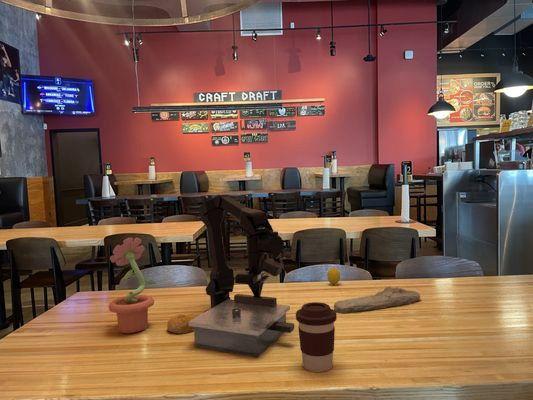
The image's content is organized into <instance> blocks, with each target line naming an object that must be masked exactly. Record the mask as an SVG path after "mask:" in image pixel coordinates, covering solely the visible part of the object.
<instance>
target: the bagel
mask: <svg viewBox="0 0 533 400" xmlns="http://www.w3.org/2000/svg"><path fill="white" fill-rule="evenodd" d="M196 317H197V316H195V315H193V314H177V315H175V316H172V317H170V318H169V319H168V320H167V325H166V329H167V330H168V331H169V332H171V333H174V334H181V335H182V334H186V333H187V334H188V333H191V332H194V326H189V321H190V320H192V319H194V318H196Z"/></svg>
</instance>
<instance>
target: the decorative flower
mask: <svg viewBox="0 0 533 400" xmlns="http://www.w3.org/2000/svg"><path fill="white" fill-rule="evenodd" d="M141 244H142V239H141V238H139V237H135V238H133V237H128V238H126V239H124V240H123V244H121V245H120V244H117V245H116V246H115V247H114V249H113V250H112V254H113V255H111V256H110V257H109V260H110V262H111V263H115V264H116V266H118V267H119V266H120V267H121V266H122V267H123V266H125V265H129V264H130V266H131V268H132V269H130V270H129V271H127V272H126V273H125V275H124V277H123V280H124V281H125V280H127V279H129V278H130V277H131V276H132V275H133V272H134V273H135V276H136V278H137V280H138V283H139V285H138V287H137V288H136V289H134V290H132V291H130V292H129V293H128V294H127V295H126V296H122V297H119V298H116V299H114V300H112V301H111V302H110V303H109V304H108V310H109V311H110V312H112V313H114V314H116V318H117V326H118V330H119V332H120V333H122V334H123V333H124V334H133V333H137V332H141V331H143V330H145V329H147V328H148V319H149V317H148V316H149V315H148V314H149V313H148V312H149V309H150V307H152V306H154V304H155V299H154V298H153V296H152V295H148V294H141V293H142V292H144V290H145V288H146V284H147V285H157V282H156V281H155V280H153V279H145V278H144V275H143V273H142V271H141V270H140V269H139V266H138V264H137V262H136V261H137V260H139V259H140V258H141V257H142V254H143V253H144V251H145V249H146V248H145V246H144V245H141Z"/></svg>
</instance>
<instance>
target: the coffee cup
mask: <svg viewBox="0 0 533 400" xmlns="http://www.w3.org/2000/svg"><path fill="white" fill-rule="evenodd" d="M295 320H296V321H297V322H298V327H297V329H298V336H299V349H300V351H301V358H302V359H301V360H302V365H303V368H305V369H306V370H307V371H309V372H312V373H324V372H327V371H329V370H330V369H332V367H333V362H334V361H333V359H334V350H335V330H336V327H335V322H336V321H337V320H338V319H337V312H335V311H334V308H331V307H330V305H329V304H327V303H324V302H317V301H315V302H314V301H313V302H308V303H304V304H303V305H302V306H301V308H299V309H297V311H296V312H295Z"/></svg>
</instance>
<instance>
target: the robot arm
mask: <svg viewBox="0 0 533 400" xmlns="http://www.w3.org/2000/svg"><path fill="white" fill-rule="evenodd" d="M198 212H199V215H200V220H201V222H202V223H203V225H205V227H206V231H207V235H208V236H207V237H208V243H209V249H210V256H211V263H212V269H211V271H210V274H209V283H208V284H207V285H206V287H205V295H207V296H209V297H210V308H209V309H208V310H210V309H212V308H213V307H215V306H217V305H219V304H221V303H222V302H224V301H226V300H228V299H231V297H230V293H233V292H234V287H235V284H239V285H240V284H241V285H247V286H248V287H249V289H250V292H251V293H252V295H254V296H262V290H263V287H264V283H265V281H266V280H267V279H268V278H269V277H270V275H271V276H272V277H277V276H278V275H281V274H282V273H281V272H282V270H283V268H285V267H284V262H283V258H282V257H279V256H277V257H276V258H270V257H269V254H270V255H271V254H272V255H280V254H281V253H282V252H283V249H284V246H285V243H284V241H283V238H282V237H281V236H280V235H279V232H278V231H277V230H275V231H274V229H273V226H272V225H271V223H270V221H269V219H268V217H267V214H266V213H265V212H264V211H263V210H259V209H257V208H256V209H255V208H249V207H247V206H245V205H244V204H242V203H240V202H239V201H237V200H236V199H234V198H232V197H231V195H229V194H217V195H215V196H214V197H213V198H211V199H208V200H207V201H204V202H203V203H201V205H200V206H199V207H198ZM225 212H227V213H229V214H230V215H231V216H232V217H234V218H236V219H238V221H239V225H240V226H241V227H242V228H243V229H244V230H245V231H244V232H243V233H241V236H243V237H245V238H246V239H245V240H246V254H244V259H246V260H247V261H246V263H247V265H246V266H245V267H244V271H240V272H239V273H236V275H235V274H234V269H233V268H230V267H229V266H228V264H227V259H226V253H225V246H224V239H223V232H222V222H223V220H224V213H225ZM266 273H267V274H269V275H267V274H266Z"/></svg>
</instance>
